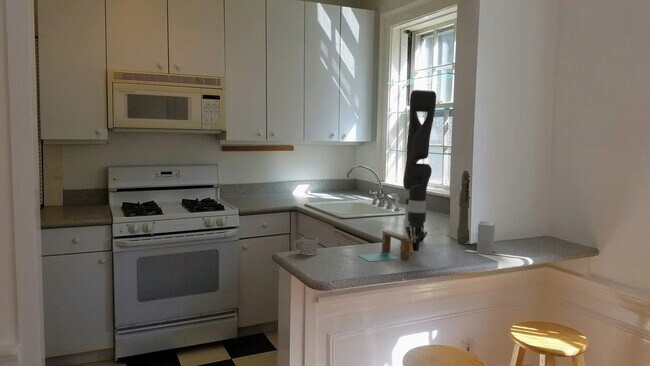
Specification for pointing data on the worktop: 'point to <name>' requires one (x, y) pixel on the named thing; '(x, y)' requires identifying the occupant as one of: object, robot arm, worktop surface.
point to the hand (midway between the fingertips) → (415, 250)
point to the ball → (410, 248)
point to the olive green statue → (463, 209)
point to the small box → (485, 237)
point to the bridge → (404, 244)
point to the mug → (307, 245)
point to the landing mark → (378, 257)
